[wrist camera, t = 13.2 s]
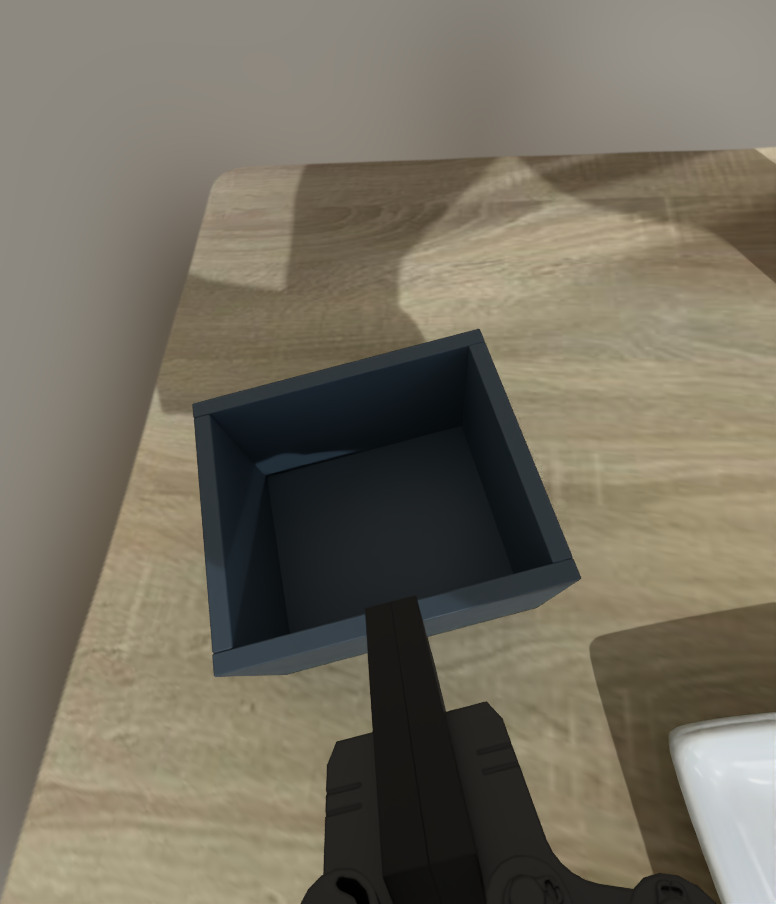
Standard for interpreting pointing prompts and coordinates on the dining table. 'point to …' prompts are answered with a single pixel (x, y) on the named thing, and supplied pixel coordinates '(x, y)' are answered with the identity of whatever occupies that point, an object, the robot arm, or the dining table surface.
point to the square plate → (732, 800)
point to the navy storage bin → (369, 506)
